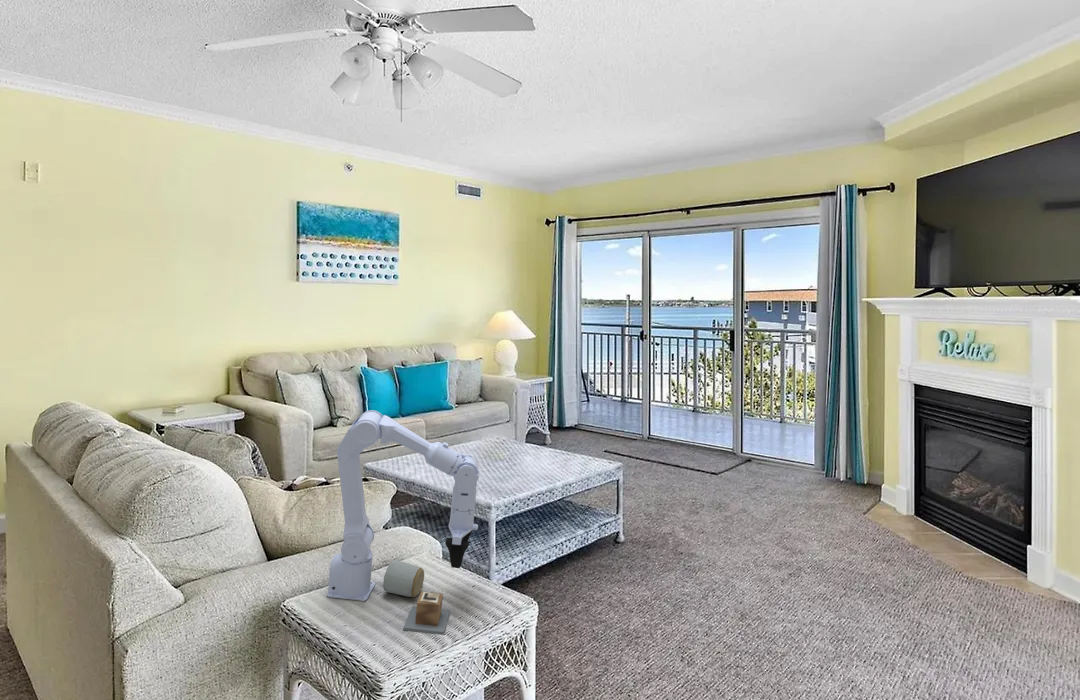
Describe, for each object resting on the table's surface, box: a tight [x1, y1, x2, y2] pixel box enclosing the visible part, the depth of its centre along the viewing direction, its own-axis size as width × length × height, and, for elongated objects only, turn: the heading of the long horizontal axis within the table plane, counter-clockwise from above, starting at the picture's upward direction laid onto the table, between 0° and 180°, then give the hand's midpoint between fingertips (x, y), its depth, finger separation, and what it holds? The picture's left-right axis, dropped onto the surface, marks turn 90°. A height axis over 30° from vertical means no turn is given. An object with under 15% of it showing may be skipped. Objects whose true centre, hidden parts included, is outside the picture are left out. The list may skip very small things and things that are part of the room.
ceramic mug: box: [382, 559, 425, 598], centre depth 154 cm, size 11×8×8 cm
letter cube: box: [415, 590, 444, 626], centre depth 142 cm, size 5×5×5 cm
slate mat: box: [402, 605, 451, 636], centre depth 142 cm, size 9×9×1 cm
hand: (458, 559), depth 153 cm, fingers open, 7 cm apart
